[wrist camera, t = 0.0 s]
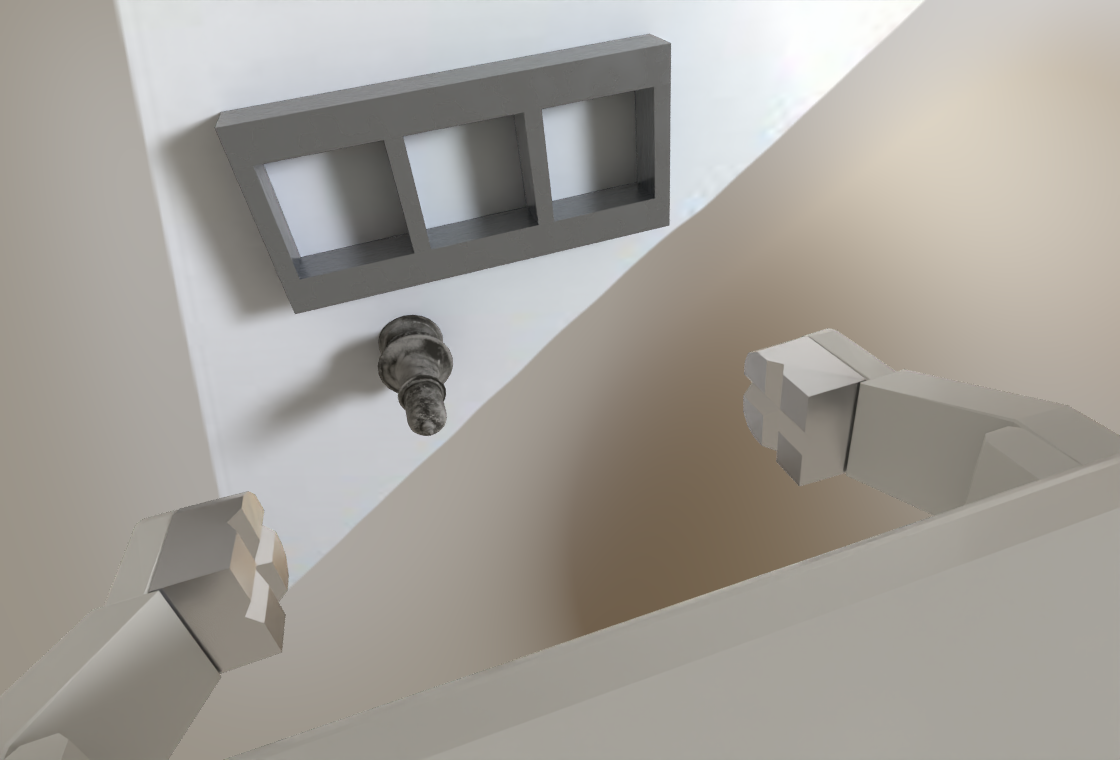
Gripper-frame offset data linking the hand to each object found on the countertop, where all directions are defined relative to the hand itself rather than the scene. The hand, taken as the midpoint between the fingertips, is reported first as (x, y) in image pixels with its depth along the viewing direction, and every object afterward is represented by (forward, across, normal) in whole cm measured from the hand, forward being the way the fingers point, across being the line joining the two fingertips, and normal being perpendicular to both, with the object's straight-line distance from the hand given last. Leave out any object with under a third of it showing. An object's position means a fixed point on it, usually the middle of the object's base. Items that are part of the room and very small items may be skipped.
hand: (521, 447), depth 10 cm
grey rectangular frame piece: (+40, -4, +6) cm, 40 cm away
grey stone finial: (+41, +3, +19) cm, 45 cm away
